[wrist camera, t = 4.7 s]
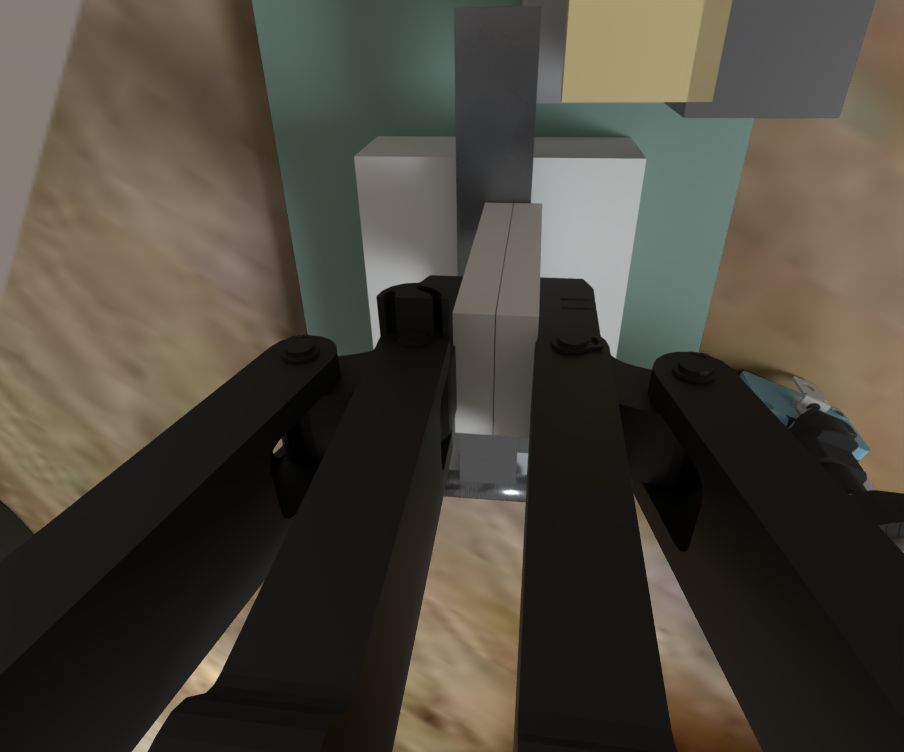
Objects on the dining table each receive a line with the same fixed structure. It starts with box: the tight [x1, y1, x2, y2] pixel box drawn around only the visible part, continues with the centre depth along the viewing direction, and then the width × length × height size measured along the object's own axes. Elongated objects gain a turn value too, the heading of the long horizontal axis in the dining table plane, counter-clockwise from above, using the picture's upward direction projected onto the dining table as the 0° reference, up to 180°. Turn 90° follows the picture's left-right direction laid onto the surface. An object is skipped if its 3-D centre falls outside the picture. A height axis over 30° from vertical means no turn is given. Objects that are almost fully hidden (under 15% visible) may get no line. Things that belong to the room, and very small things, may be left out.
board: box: [252, 0, 754, 475], centre depth 20 cm, size 15×18×4 cm
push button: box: [739, 371, 904, 553], centre depth 20 cm, size 7×5×10 cm
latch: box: [561, 0, 875, 118], centre depth 14 cm, size 6×3×6 cm, turn 91°
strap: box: [444, 6, 542, 502], centre depth 18 cm, size 3×16×1 cm, turn 1°
